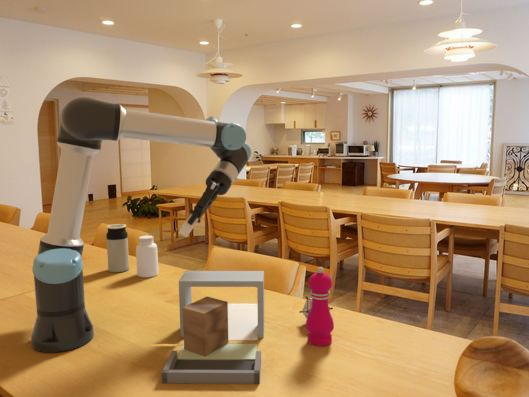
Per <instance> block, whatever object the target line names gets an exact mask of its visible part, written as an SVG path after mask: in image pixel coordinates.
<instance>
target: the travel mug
mask: <svg viewBox="0 0 529 397" xmlns="http://www.w3.org/2000/svg"><path fill="white" fill-rule="evenodd" d="M126 227H127V224H124V223H113V224H108V225H106V228H107V229H106V230H107V233H106V238H105V239H106V253H107V254H106V255H107V270H108V272H110V273H115V274H116V273H123V272H124V273H125V272H127V271H128V270H130V261H129V260H130V259H129V240H128V239H129V238H128V232H127V230H126Z"/></svg>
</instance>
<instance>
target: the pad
mask: <svg viewBox="0 0 529 397" xmlns="http://www.w3.org/2000/svg"><path fill="white" fill-rule="evenodd" d="M256 351H258V343H227V344H225V345H224V346H222V347H220V348H219V349H217V350H216V351H214V352H212V353H211V354H209V355H208V356H206V357H204V356H202V355H199V354H196V353H193V352H190V351H187V350H185V349H184V343H183V344H182V347H181V349H180V351H179V354H177V360H255V356H256Z"/></svg>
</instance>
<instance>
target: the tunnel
mask: <svg viewBox="0 0 529 397" xmlns="http://www.w3.org/2000/svg"><path fill="white" fill-rule="evenodd" d="M192 287H193V288H194V287H195V288H198V287H199V288H200V287H201V288H204V287H205V288H208V287H209V288H210V287H211V288H212V287H214V288H247V287H248V288H252V287H253V288H256V287H257V291H256V292H257V296H256V297H257V299H256V300H257V303H232V302H231V303H228V341H258V339H259V338H260V339H261V338H263V339H264V335H265V271H264V270H184V273H183V274H182V275H181V277H180V279H178V297H179V299H178V300H179V305H178V306H179V324H180V325H179V326H180V327H179V330H180V335H179V336H180V338H184V331H183V307H185V306H187V305H189V304H191V303H193V302H192V300H193V298H192Z"/></svg>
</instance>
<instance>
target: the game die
mask: <svg viewBox="0 0 529 397" xmlns="http://www.w3.org/2000/svg"><path fill="white" fill-rule="evenodd" d="M305 299H306V301H305V304H304V306H303V308H302V310H300V311H299V314H300V313H301V314H303V315H304V316H305V318H306V319H307V317H308V315H309V313H310V310H311V307H312V297H308V296H306V295H305ZM328 307H329V311H330V312H331V310H334V307H330V305H328Z"/></svg>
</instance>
